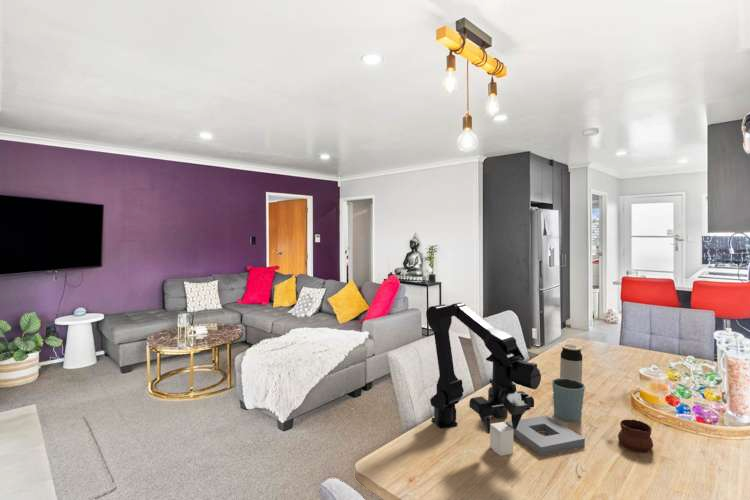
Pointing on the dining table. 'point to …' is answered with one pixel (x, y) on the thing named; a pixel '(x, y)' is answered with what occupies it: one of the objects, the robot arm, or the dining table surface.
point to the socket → (554, 443)
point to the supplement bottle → (497, 408)
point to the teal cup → (568, 399)
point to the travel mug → (571, 362)
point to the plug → (501, 438)
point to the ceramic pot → (635, 436)
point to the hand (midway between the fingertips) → (501, 430)
